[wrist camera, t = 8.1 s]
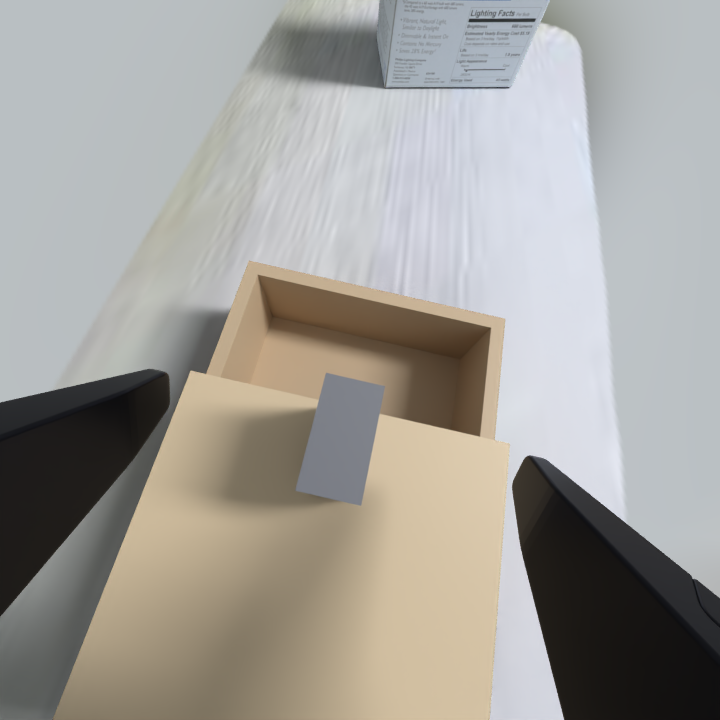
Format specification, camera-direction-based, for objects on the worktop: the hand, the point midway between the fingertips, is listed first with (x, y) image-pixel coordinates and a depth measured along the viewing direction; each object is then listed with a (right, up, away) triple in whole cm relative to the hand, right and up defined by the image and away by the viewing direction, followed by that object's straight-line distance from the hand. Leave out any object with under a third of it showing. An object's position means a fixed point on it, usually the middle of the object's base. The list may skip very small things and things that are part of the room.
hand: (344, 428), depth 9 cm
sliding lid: (-1, -6, +3) cm, 7 cm away
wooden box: (0, -2, +10) cm, 10 cm away
